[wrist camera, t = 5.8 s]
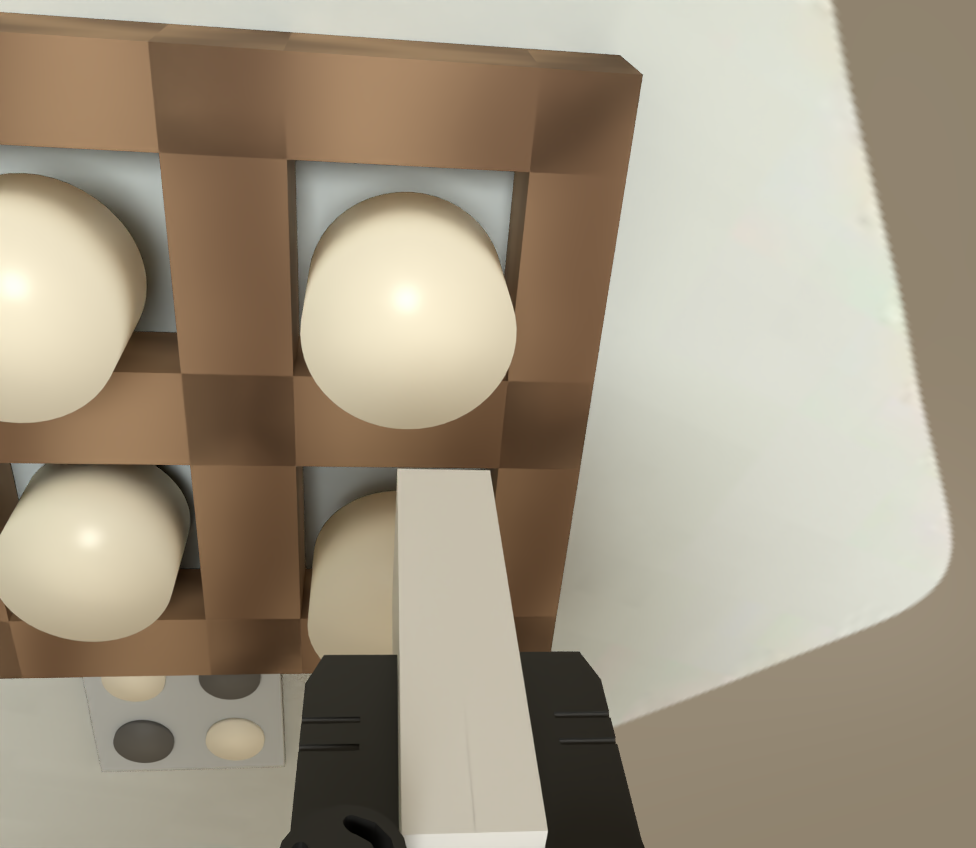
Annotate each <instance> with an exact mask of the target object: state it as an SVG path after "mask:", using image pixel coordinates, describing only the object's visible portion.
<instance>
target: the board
mask: <svg viewBox="0 0 976 848" xmlns="http://www.w3.org/2000/svg"><path fill="white" fill-rule="evenodd" d="M642 77H643V75H642V74H641V73H640V72H639V71H638V70H637V69H635V68H634V67H633V66H632V65H631V64H630V63H628V62H627V61H626V60H625V59H624V58H623V57H621V56H620V55H609V54H594V53H580V52H566V51H551V50H537V49H522V48H508V47H494V46H479V45H465V44H450V43H436V42H422V41H407V40H393V39H378V38H364V37H350V36H335V35H321V34H306V33H292V32H278V31H263V30H249V29H234V28H220V27H206V26H191V25H177V24H162V23H148V22H134V21H119V20H105V19H91V18H76V17H62V16H47V15H33V14H19V13H4V12H0V144H1V145H20V146H39V147H58V148H77V149H96V150H115V151H134V152H153V153H159V159H160V169H161V179H162V189H163V199H164V208H165V218H166V228H167V238H168V248H169V258H170V268H171V278H172V288H173V298H174V308H175V318H176V328H177V333H170V332H135V331H133V333H132V335H131V337H130V339H129V341H128V343H127V345H126V347H125V349H124V351H123V353H122V355H121V357H120V359H119V361H118V363H117V365H116V367H115V369H114V371H113V373H112V375H111V377H110V379H109V380H108V382H107V383H106V385H105V386H104V388H103V389H102V390H101V391H100V392H99V393H98V394H97V395H96V397H95V398H93V399H92V400H91V401H90V402H88V403H87V404H86V405H84V406H83V407H81V408H79V409H78V410H76V411H74V412H72V413H70V414H67V415H65V416H62V417H59V418H55V419H52V420H48V421H41V422H34V423H12V422H2V421H0V534H1V532H2V531H3V529H4V527H5V525H6V523H7V522H8V520H9V518H10V516H11V514H12V512H13V511H14V509H15V507H16V505H17V503H18V502H19V501H18V496H17V492H16V487H15V483H14V478H13V473H12V469H11V464H10V463H54V464H144V465H190V468H191V478H192V488H193V498H194V508H195V518H196V528H197V538H198V548H199V558H200V568H201V569H179V570H178V574H177V577H176V581H175V585H174V588H173V592H172V595H171V598H170V601H169V604H168V605H167V607H166V609H165V611H164V612H163V613H162V614H161V616H160V617H159V618H158V619H157V620H156V621H155V622H154V623H152V624H151V625H150V626H148V627H147V628H145V629H143V630H142V631H140V632H138V633H136V634H133V635H130V636H128V637H124V638H120V639H116V640H110V641H99V642H86V641H76V640H70V639H65V638H60V637H57V636H54V635H51V634H48V633H46V632H43V631H41V630H38V629H37V628H35V627H33V626H31V625H29V624H27V623H26V622H24V621H23V620H21V619H20V618H19V617H18V616H16V615H15V614H14V613H13V612H12V611H11V610H10V609H9V608H8V607H7V606H6V605H5V604H4V603H3V601H2V600H1V599H0V679H5V678H64V677H124V676H183V675H243V674H302V673H313V671H314V670H315V668H316V667H317V665H318V663H319V662H320V660H321V659H320V657H319V656H318V654H317V653H316V652H315V650H314V648H313V646H312V644H311V641H310V638H309V634H308V613H309V602H310V591H311V580H312V569H305V531H304V492H303V466H324V467H414V468H486V470H490V474H491V480H492V486H493V492H494V499H495V505H496V511H497V517H498V523H499V530H500V536H501V542H502V548H503V555H504V561H505V567H506V573H507V579H508V586H509V592H510V598H511V604H512V611H513V617H514V623H515V629H516V635H517V642H518V648H519V652H551V647H552V641H553V634H554V628H555V622H556V615H557V609H558V603H559V597H560V590H561V584H562V578H563V572H564V565H565V559H566V553H567V547H568V540H569V534H570V528H571V521H572V515H573V509H574V503H575V496H576V490H577V484H578V478H579V471H580V465H581V459H582V453H583V446H584V440H585V434H586V427H587V421H588V415H589V409H590V402H591V396H592V390H593V384H594V377H595V371H596V365H597V359H598V352H599V346H600V340H601V333H602V327H603V321H604V315H605V308H606V302H607V296H608V290H609V283H610V277H611V271H612V265H613V258H614V252H615V246H616V239H617V233H618V227H619V221H620V214H621V208H622V202H623V196H624V189H625V183H626V177H627V171H628V164H629V158H630V152H631V145H632V139H633V133H634V127H635V120H636V114H637V108H638V102H639V95H640V89H641V83H642ZM295 160H306V161H325V162H345V163H364V164H383V165H402V166H421V167H440V168H459V169H478V170H497V171H515V173H514V183H513V194H512V204H511V214H510V225H509V235H508V245H507V256H506V266H505V276H504V278H505V281H506V285H507V288H508V292H509V295H510V298H511V302H512V305H513V309H514V313H515V319H516V328H517V330H516V344H515V350H514V354H513V357H512V361H511V364H510V366H509V368H508V370H507V372H506V374H505V376H504V378H503V379H502V381H501V382H500V384H499V385H498V387H497V388H496V389H495V390H494V391H493V393H492V394H491V395H490V396H489V397H488V398H487V399H486V400H485V401H484V402H482V403H481V404H480V405H479V406H477V407H476V408H475V409H473V410H472V411H470V412H469V413H467V414H465V415H463V416H461V417H459V418H458V419H455V420H453V421H450V422H447V423H445V424H441V425H437V426H434V427H428V428H421V429H395V428H388V427H383V426H378V425H375V424H372V423H368V422H366V421H363V420H361V419H359V418H356V417H354V416H353V415H351V414H349V413H348V412H346V411H344V410H343V409H341V408H340V407H339V406H337V405H336V404H335V403H334V402H332V401H331V400H330V399H329V398H328V397H327V396H326V395H325V394H324V393H323V391H322V390H321V389H320V387H319V386H318V385H317V384H316V382H315V380H314V379H313V377H312V375H311V373H310V372H309V369H308V367H307V364H306V362H305V359H304V355H303V351H302V346H301V336H300V333H299V294H298V254H297V215H296V175H295Z"/></svg>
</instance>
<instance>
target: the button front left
mask: <svg viewBox="0 0 976 848" xmlns="http://www.w3.org/2000/svg"><path fill="white" fill-rule="evenodd" d="M146 292H147V282H146V273H145V268H144V263H143V260H142V257H141V254H140V252H139V250H138V248H137V246H136V243H135V241H134V240H133V238H132V237H131V235H130V233H129V232H128V230H127V229H126V228H125V226H124V225H123V224H122V223H121V221H120V220H119V219H118V218H117V217H116V216H115V215H114V214H113V213H112V212H111V211H110V210H109V209H108V208H107V207H106V206H104V205H103V204H102V203H101V202H99V201H98V200H97V199H95V198H94V197H92V196H91V195H89V194H87V193H86V192H84V191H83V190H81V189H79V188H77V187H75V186H72V185H70V184H68V183H66V182H63V181H60V180H57V179H54V178H50V177H46V176H41V175H35V174H26V173H8V174H1V175H0V421H2V422H12V423H34V422H41V421H48V420H52V419H55V418H59V417H62V416H65V415H67V414H70V413H72V412H74V411H76V410H78V409H79V408H81V407H83V406H84V405H86V404H87V403H88V402H90V401H91V400H92V399H93V398H95V397H96V395H97V394H98V393H99V392H100V391H101V390H102V389H103V388H104V386H105V385H106V383H107V382H108V380H109V379H110V377H111V375H112V373H113V371H114V369H115V367H116V365H117V363H118V361H119V359H120V357H121V355H122V353H123V351H124V349H125V347H126V345H127V343H128V341H129V339H130V337H131V335H132V333H133V331H134V329H135V327H136V325H137V323H138V321H139V319H140V317H141V314H142V312H143V309H144V305H145V301H146Z"/></svg>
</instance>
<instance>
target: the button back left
mask: <svg viewBox="0 0 976 848" xmlns="http://www.w3.org/2000/svg"><path fill="white" fill-rule="evenodd" d="M189 529H190V512H189V507H188V504H187V502H186V499H185V497H184V495H183V493H182V492H181V490H180V489H179V487H178V486H177V485H176V483H175V482H174V481H173V480H172V479H171V478H170V477H169V476H168V475H167V474H166V473H164V472H163V471H162V470H161V469H159V468H158V467H156V466H155V465H144V464H54V463H46V464H45V465H44V466H42V467H41V468H40V469H39V470H38V471H37V472H36V473H35V474H34V475H33V477H32V479H31V480H30V482H29V483H28V485H27V487H26V489H25V491H24V492H23V494H22V496H21V498H20V500H19V502H18V503H17V505H16V507H15V509H14V511H13V512H12V514H11V516H10V518H9V520H8V522H7V523H6V525H5V527H4V529H3V531H2V532H1V534H0V599H1V600H2V601H3V603H4V604H5V605H6V606H7V607H8V608H9V609H10V610H11V611H12V612H13V613H14V614H15V615H16V616H18V617H19V618H20V619H21V620H23V621H24V622H26V623H27V624H29V625H31V626H33V627H35V628H37V629H38V630H41V631H43V632H46V633H48V634H51V635H54V636H57V637H60V638H65V639H70V640H76V641H86V642H99V641H110V640H116V639H120V638H124V637H128V636H130V635H133V634H136V633H138V632H140V631H142V630H143V629H145V628H147V627H148V626H150V625H151V624H152V623H154V622H155V621H156V620H157V619H158V618H159V617H160V616H161V614H162V613H163V612H164V611H165V609H166V607H167V605H168V604H169V601H170V598H171V595H172V592H173V588H174V585H175V581H176V577H177V574H178V570H179V566H180V563H181V559H182V556H183V552H184V548H185V545H186V541H187V537H188V534H189Z"/></svg>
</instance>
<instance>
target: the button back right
mask: <svg viewBox="0 0 976 848" xmlns="http://www.w3.org/2000/svg"><path fill="white" fill-rule="evenodd" d="M395 515H396V491H386V492H380V493H375V494H371V495H367V496H364V497H361V498H359V499H356V500H354V501H352V502H350V503H349V504H347V505H345V506H344V507H342V508H341V509H339V510H338V511H337V512H336V513H335V514H333V515H332V516H331V517H330V518H329V520H328V521H327V522H326V523H325V524H324V526H323V528H322V529H321V531H320V533H319V535H318V537H317V540H316V544H315V548H314V558H313V569H312V580H311V591H310V602H309V613H308V634H309V638H310V641H311V644H312V646H313V648H314V650H315V652H316V653H317V654H318V656H319V657H320V659H322V657H323V655H392V590H393V565H394V540H395Z"/></svg>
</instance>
